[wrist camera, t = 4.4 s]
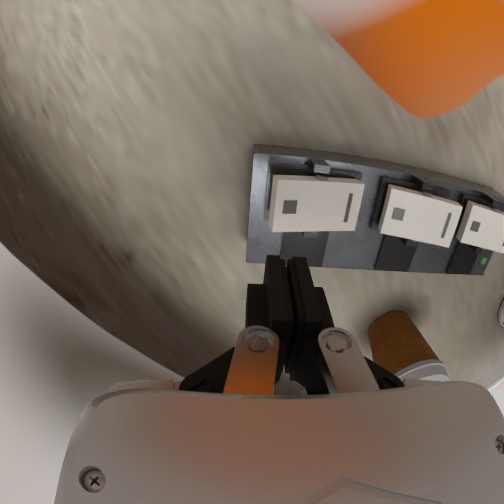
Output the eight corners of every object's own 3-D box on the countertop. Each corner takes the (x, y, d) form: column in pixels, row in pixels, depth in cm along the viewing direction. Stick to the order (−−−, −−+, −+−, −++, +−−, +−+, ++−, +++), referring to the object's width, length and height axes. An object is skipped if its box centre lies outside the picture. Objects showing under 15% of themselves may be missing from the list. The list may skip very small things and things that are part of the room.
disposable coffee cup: (349, 319, 36) (373, 396, 26) (415, 290, 34) (454, 359, 24) (364, 357, 41) (384, 424, 30) (420, 333, 38) (450, 395, 28)
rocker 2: (458, 200, 21) (463, 205, 20) (443, 243, 23) (448, 250, 22) (389, 181, 22) (392, 186, 21) (377, 229, 24) (379, 235, 23)
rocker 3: (515, 214, 21) (520, 219, 20) (501, 250, 24) (506, 256, 22) (468, 198, 22) (474, 203, 21) (455, 238, 25) (459, 244, 24)
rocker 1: (357, 176, 22) (366, 182, 21) (347, 226, 24) (354, 233, 23) (273, 172, 21) (278, 177, 20) (267, 227, 23) (271, 235, 22)
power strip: (516, 196, 27) (544, 216, 21) (492, 260, 32) (515, 284, 26) (254, 144, 26) (253, 158, 20) (247, 241, 31) (245, 275, 26)
